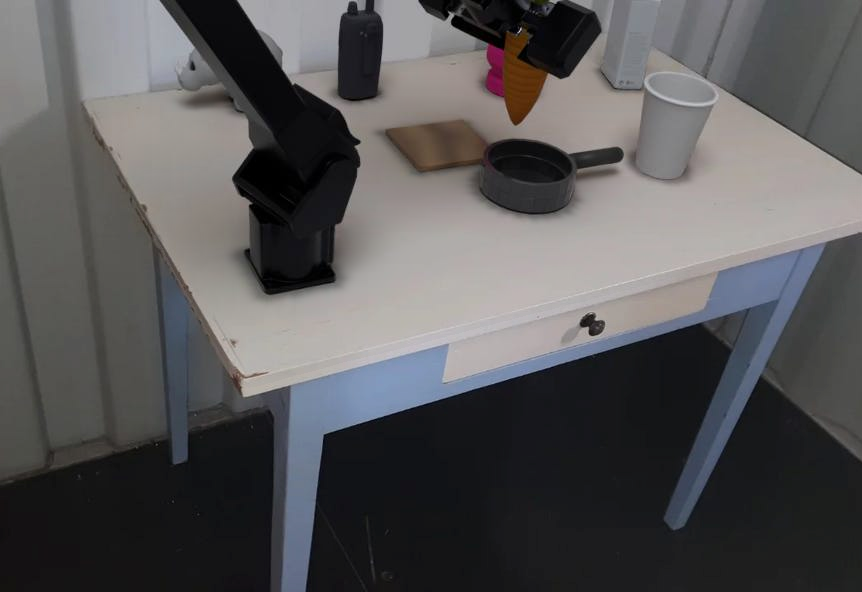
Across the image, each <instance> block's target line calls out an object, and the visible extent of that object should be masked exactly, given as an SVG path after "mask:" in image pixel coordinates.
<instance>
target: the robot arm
mask: <svg viewBox="0 0 862 592" xmlns="http://www.w3.org/2000/svg"><path fill="white" fill-rule="evenodd" d="M158 1H159V2H160V3H161V4H162V6H163V8H164V9H165V10H166V12H168V14H169V15H170V17H171V18H172V19H173V21H174V22H175V23H176V24H177V27H179V29H180V30H181V31H182V32H183V34H184V36H185V37H186V38H187V39H188V40H189V42H190V43H191V44H192V46H193V47H194V49H195V48H196V50H197V51H198V52H199V54H200V55H201V56H202V58H203V59H204V60H205V62H206V63H207V64H208V66H209V67H210V68H211V70H212V71H213V72H214V74H215V75H216V76H217V78H218V79H219V80H220V82H219V83H221V84H222V86H223V87H224V88H225V91H226V90H227V91H228V92H229V94H230V95H231V96H232V97H231V99H233V101H234V100H235V101H236V103H237V104H238V105H239V107H240V108H241V109H242V111H241V112H243V113H244V115H245V117H246V119H247V125H248V126H247V127H248V129H247V130H248V139H249V141H250V143H251V146H252V147H253V148H252V149H251V150H250V152H249V153H248V154H247V155H246V157H245V159H244V160H243V161H242V163H241V164H240V165H239V166H238V168H237V169H236V171H235V172H234V173H233V175H232V176H231V181H232V183H233V185H234V188H235V190H236V192H237V195H238V196H239V197H240V198H245V200H247V201H248V202H249V203H250V204H248V226H249V227H248V231H249V232H248V233H249V247H248V248H245V249H244V250H243V257H244V258H245V260H246V262H247V264H248V265H249V268H250V269H251V271H252V272H253V274H254V276H255V277H256V279H257V281H258V283H259V285H260V287H261V289H262V290H263V292H265V293H266V294H275V293H280V292H286V291H289V290H295V289H300V288H305V287H310V286H315V285H320V284H326V283H330V282H334V281H335V280H336V272H335V271H334V270H333V268H332V266H331V265H330V264H333V263H334V261H335V242H336V241H335V239H336V226H337V225H340V224H342V222H343V220H344V217H345V213H346V211H347V208H348V205H349V203H350V199H351V196H352V194H353V189H354V187H355V184H356V181H357V178H358V169H359V168H360V167H361V165H362V164H361V163H362V162H361V156H360V154H359V151H358V148H356V147H357V146H359V145H361V143H362V142H361V141H362V140H360V139H359V138H357V137H356V136H354V135H353V134H352V133H351V130H350V129H349V126H348V124H347V121H346V118H345V116H344V115H343V114H342V112H341V110H340V109H339V108H336V107H335V106H334V105H332V104H330V103H328V102H327V101H326V100H324V99H322V98H321V97H319V96H318V95H316V94H314V93H312V92H311V91H309V90H307V89H306V88H304V87H303V86H301V85H299V84H297V83H296V82H295V83H292V81H291V79H290V78H289V76H288V75H287V74H286V72H285V71H284V69H283V67H282V68H281V66H280V65H279V63H278V62H277V60H276V58H275V57H274V55H273V54H272V52H271V51H270V49H269V48H268V46H267V45H266V43H265V42H264V40H263V39H262V37H261V36H260V34H259V33H258V31H257V30H256V29H257V28H256V26H255V25H254V23H253V22H252V21H251V19H250V17H249V15H248V14H247V13H246V11H245V10H244V8H243V7H242V5H241V4H240V2H239V1H238V0H158ZM417 2H418V3H419V5H420V6H421V7H422V8H423V10H424V11H425V13H427V14H429V15H431V16H432V17H435V18H436V19H439V20H441V21H443V22H446V21H447V20H448V19H449V18H450V16H451V14H453V16H452V17H451V20H450V25H451V26H452V27H453V28H454V29H456V30H458V31H460V32H462V33H464V34H466V35H469V36H470V37H473V38H475V39H476V40H479V41H482V42H483V43H486V44H487V45H488V44H490V45H492V46H494V47H497V48H499V49H501V50H503V51H504V47H505V40H506V32H508V33H510V34H512V35H514V36H519V35H520V34H521V33H522V31H523V28H525V29H527V31H526V32H525V33H526V35H527V36H528V37H529V39H528V40H527V44H526V45H525V47H524V48H523V49H522V51H521V52H520V54H519V55H518V56H517V59H518V60H520V61H522V62H524V63H526V64H528V65H530V66H532V67H534V68H536V69H540V70H543V71H545V72H547V73H548V75H551V76H553V77H555V78H557V79H558V80H564V79H567V78H569V77H570V76H571V75H572V74H573V72H574V71H575V70H576V68H577V66H578V65H579V64H580V63H581V61H582V60H583V58H584V57H585V56H586V55H587V53H588V52H589V50H590V49H591V47H592V46H593V44H594V43H595V42H596V41H597V39H598V38H599V36H600V35H601V33H602V32H603V29H602V23H601V21H600V19H599V16H598V15H597V12H596V11H594V10H592V9H590V8H588V7H586V6H583V5H581V4H579V3H577V2H575V1H572V0H558V1H556V2H553V1H549V2H546V3H544V4H543V5H539V4H537V3H535V2H532V1H530V0H417ZM538 15H540V16H541V17H540V16H538ZM520 26H521V27H520Z"/></svg>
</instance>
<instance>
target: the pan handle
mask: <svg viewBox="0 0 862 592" xmlns="http://www.w3.org/2000/svg"><path fill="white" fill-rule="evenodd" d="M567 154H568V155H570V156H571V157H572V158H573V160H574V161H575V163H576V166H577V170H582V169H587V168H594V167H602V166H606V165H612V164H619V163H620V162H622V161H623V160H624V157H625V152H624V150H623V149H622V148H621V147H619V146H610V147H604V148H597V149H592V150H585V151H577V152H572V153H571V152H570V153H567Z"/></svg>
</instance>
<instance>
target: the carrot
mask: <svg viewBox="0 0 862 592" xmlns="http://www.w3.org/2000/svg"><path fill="white" fill-rule="evenodd" d="M530 1H532V2H535V3H537V4H539V5H543V4H544V3H546V2H550V0H530ZM538 16H540V15H538ZM540 17H541V16H540ZM520 27H521V26H520ZM526 31H527V29H525V28H523V31H522V33H521V34H520V35H519V36H514V35H512V34H510V33H508V32H506V40H505V47H504V57H503V94H504V97H503V99H504V104H505V108H506V111H507V115H508V118H509V121H510V122H511V124H512V125H513V126H514V127H517V126H519V125H521V123H523V121H524V120H525V119H526V117H527V116H528V115H529V114H530V113H531V112H532V110H533V108H534V106H535V105H536V103H537V101H538V100H539V98H540V95H541V93H542V90H543V89H544V85H545V83H546V81H547V77H548V75H549V73H547V72H545V71H543V70H540V69H536V68H534V67H532V66H530V65H528V64H526V63H524V62H522V61H520V60H518V59H517V56H518V55H519V54H520V52H521V51H522V49H523V48H524V47H525V45H526V44H527V40H528V39H529V37H528V36H527V35H526V33H525V32H526Z"/></svg>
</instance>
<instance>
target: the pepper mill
mask: <svg viewBox="0 0 862 592" xmlns="http://www.w3.org/2000/svg"><path fill="white" fill-rule="evenodd" d="M485 55H486V56H485V57H486V60H487V62H488V64H489V66H490V67H491V68H489V69H488V71H487V73H486V80H485V86H486V88H487V89H488V91H490V92H491V93H493V94H495V95H497V96H500V97H503V98H504V94H503V57H504V51H503V50H501V49H499V48H497V47H494V46H492V45H490V44H488V43H487V49H486V54H485Z"/></svg>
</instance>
